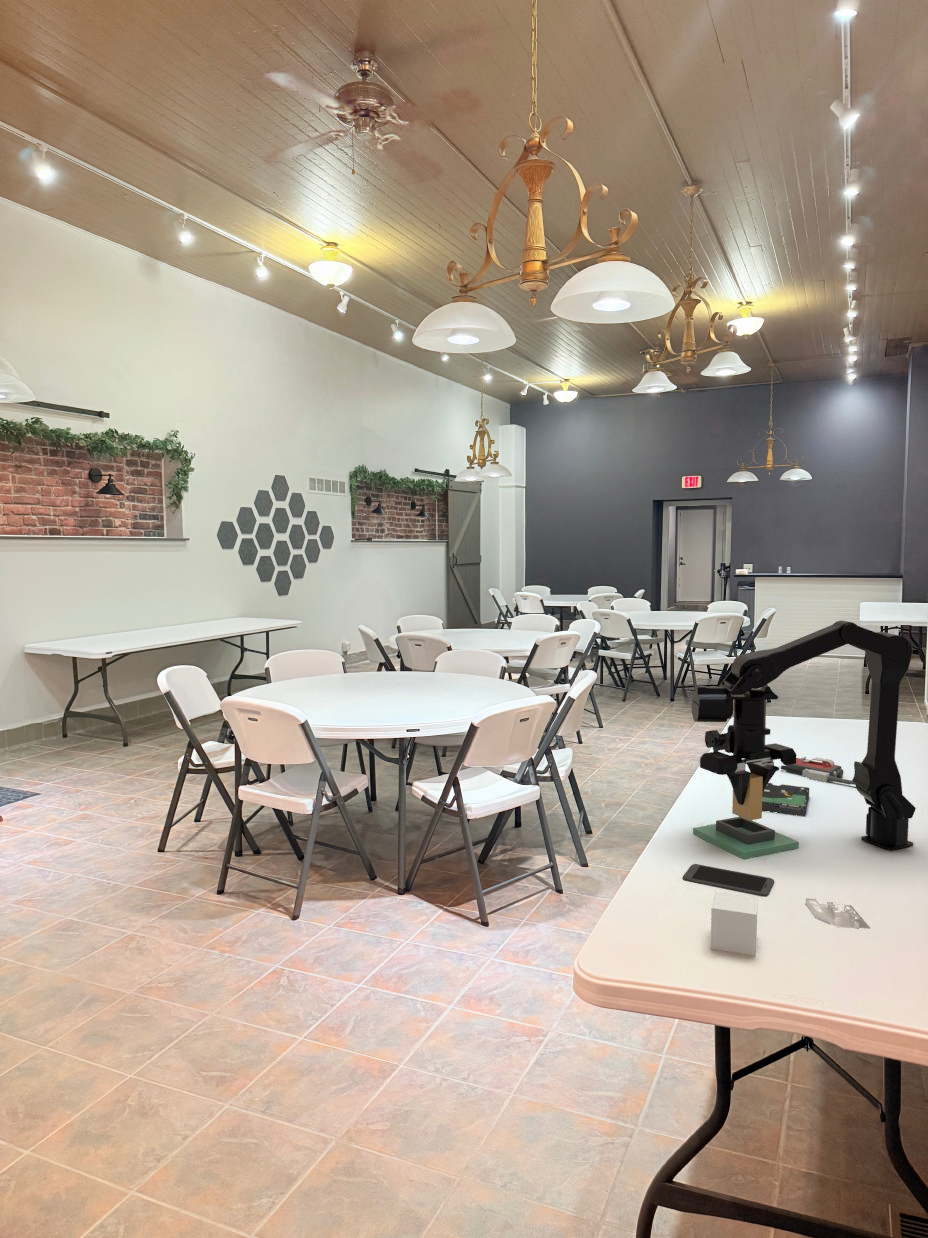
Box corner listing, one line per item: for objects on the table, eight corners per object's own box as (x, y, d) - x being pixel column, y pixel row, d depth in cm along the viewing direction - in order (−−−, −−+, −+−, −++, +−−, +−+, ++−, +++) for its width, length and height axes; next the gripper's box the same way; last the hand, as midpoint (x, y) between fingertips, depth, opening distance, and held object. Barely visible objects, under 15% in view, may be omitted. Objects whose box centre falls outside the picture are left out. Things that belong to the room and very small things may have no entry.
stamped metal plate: (805, 907, 128) (805, 898, 128) (850, 909, 127) (851, 899, 127) (822, 930, 120) (822, 920, 120) (870, 932, 120) (871, 922, 120)
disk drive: (760, 793, 186) (753, 812, 173) (760, 781, 186) (754, 799, 172) (809, 799, 182) (806, 819, 168) (809, 787, 182) (807, 805, 168)
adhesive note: (756, 937, 118) (758, 897, 117) (755, 956, 112) (757, 914, 111) (713, 930, 120) (714, 890, 119) (710, 949, 114) (711, 908, 114)
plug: (761, 818, 153) (762, 776, 152) (749, 820, 152) (750, 778, 151) (741, 810, 158) (742, 769, 157) (729, 812, 156) (730, 771, 156)
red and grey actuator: (776, 774, 201) (860, 791, 186) (776, 757, 200) (861, 772, 186) (791, 767, 207) (874, 783, 192) (792, 750, 206) (875, 765, 192)
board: (798, 848, 151) (799, 832, 151) (744, 859, 146) (744, 843, 146) (744, 824, 164) (745, 810, 164) (693, 834, 159) (693, 819, 158)
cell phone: (692, 867, 144) (692, 863, 144) (775, 883, 137) (775, 878, 137) (680, 882, 137) (680, 878, 137) (767, 899, 130) (767, 895, 130)
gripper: (756, 709, 164) (754, 785, 165) (681, 718, 156) (680, 797, 158) (799, 720, 153) (797, 801, 155) (721, 730, 146) (719, 815, 147)
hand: (747, 803), depth 154 cm, fingers closed on plug, 3 cm apart
